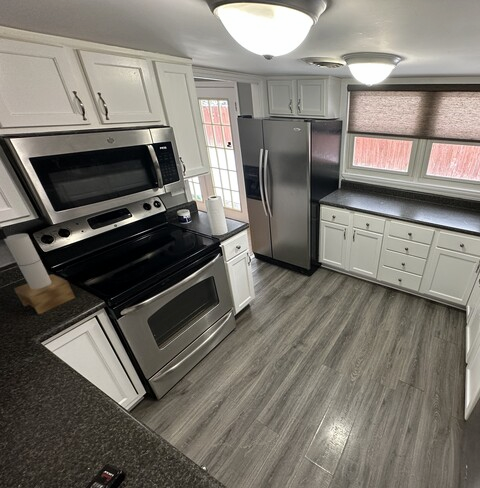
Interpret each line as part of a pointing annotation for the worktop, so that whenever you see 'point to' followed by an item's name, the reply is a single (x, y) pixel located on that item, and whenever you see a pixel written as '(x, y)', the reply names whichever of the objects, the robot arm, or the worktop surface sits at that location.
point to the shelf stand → (46, 294)
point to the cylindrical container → (28, 260)
